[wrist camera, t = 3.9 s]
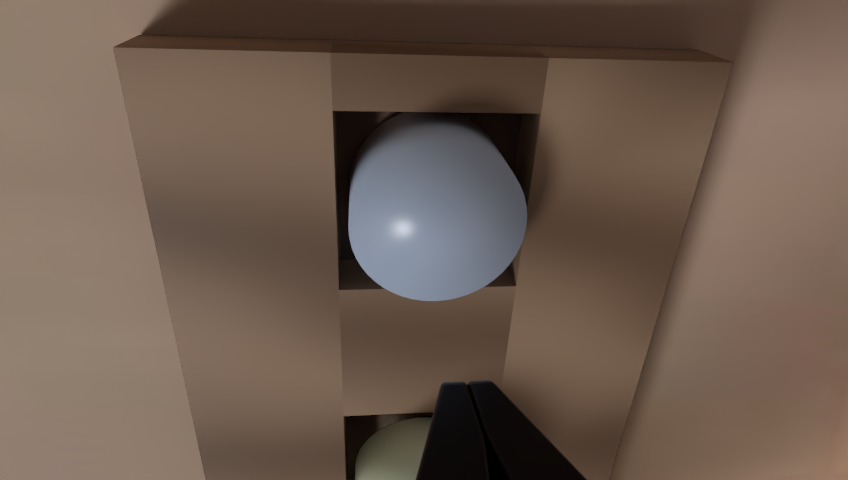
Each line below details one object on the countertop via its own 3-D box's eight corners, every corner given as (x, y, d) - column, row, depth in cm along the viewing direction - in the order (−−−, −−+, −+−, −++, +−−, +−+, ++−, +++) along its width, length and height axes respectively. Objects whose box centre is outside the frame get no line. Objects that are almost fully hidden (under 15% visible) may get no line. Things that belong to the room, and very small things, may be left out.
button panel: (546, 617, 26) (556, 654, 24) (255, 643, 24) (249, 683, 23) (697, 50, 14) (733, 62, 12) (139, 34, 12) (113, 47, 11)
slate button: (494, 250, 16) (515, 299, 14) (351, 252, 15) (350, 303, 13) (511, 109, 14) (538, 141, 12) (348, 107, 13) (346, 139, 11)
